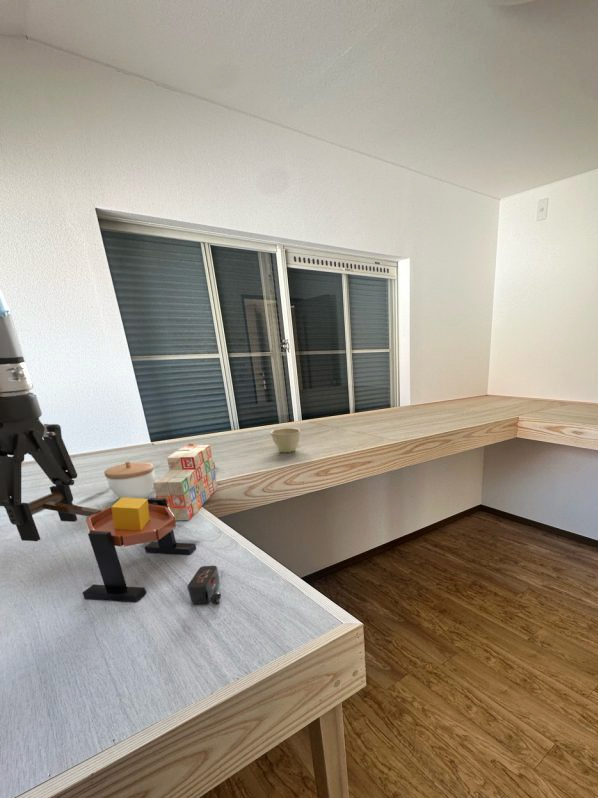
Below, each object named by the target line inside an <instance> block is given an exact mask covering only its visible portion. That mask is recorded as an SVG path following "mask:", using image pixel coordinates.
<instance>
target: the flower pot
mask: <svg viewBox="0 0 598 798" xmlns="http://www.w3.org/2000/svg"><path fill="white" fill-rule="evenodd" d="M300 434H301V429H299V428H295V427H284V428H279V429H277V428H276V429H274V430H271V431H270V435H271V438H272V442H273V443H274V445H275V446H276V448H277V449H278V451H279V452H280V451H281V452H280V453H283V452H289V453H292V452H291V451H293V452H295V451H296V449H297V447H298V444H299V440H300ZM294 450H295V451H294Z"/></svg>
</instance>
